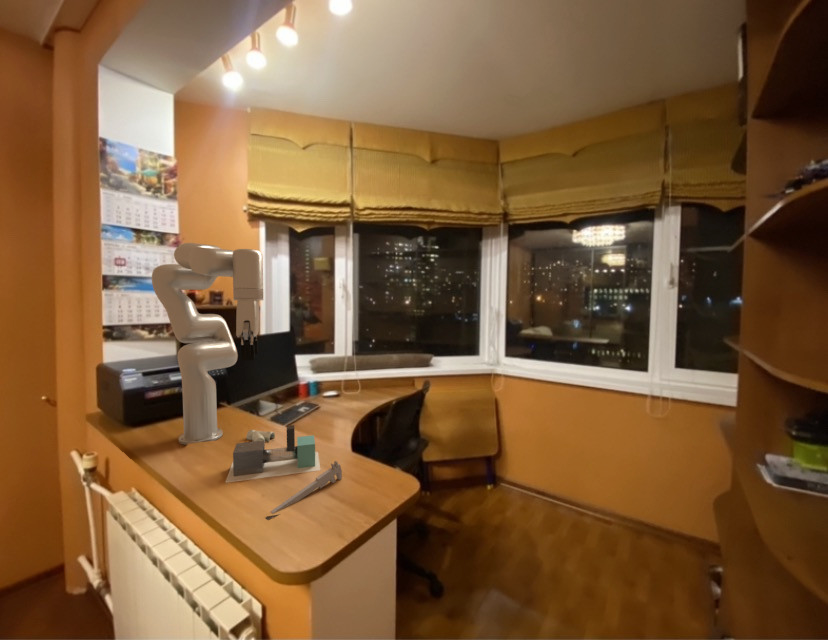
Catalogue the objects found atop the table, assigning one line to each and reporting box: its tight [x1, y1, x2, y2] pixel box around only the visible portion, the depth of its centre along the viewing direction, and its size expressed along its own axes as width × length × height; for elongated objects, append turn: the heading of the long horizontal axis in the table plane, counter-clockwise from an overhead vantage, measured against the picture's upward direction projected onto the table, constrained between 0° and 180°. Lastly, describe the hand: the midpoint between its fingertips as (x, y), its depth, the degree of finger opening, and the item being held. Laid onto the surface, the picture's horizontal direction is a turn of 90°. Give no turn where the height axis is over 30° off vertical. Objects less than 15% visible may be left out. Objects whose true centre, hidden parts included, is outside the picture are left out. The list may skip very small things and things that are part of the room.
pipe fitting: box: [246, 429, 276, 444], centre depth 118 cm, size 8×4×7 cm
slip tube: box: [263, 424, 298, 463], centre depth 102 cm, size 3×14×9 cm, turn 108°
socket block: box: [296, 434, 316, 468], centre depth 104 cm, size 6×5×6 cm
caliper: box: [265, 460, 343, 521], centre depth 87 cm, size 20×1×6 cm, turn 142°
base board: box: [225, 451, 321, 483], centre depth 101 cm, size 12×23×1 cm, turn 108°
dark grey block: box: [232, 441, 266, 476], centre depth 99 cm, size 6×7×6 cm
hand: (250, 356), depth 103 cm, fingers open, 9 cm apart
